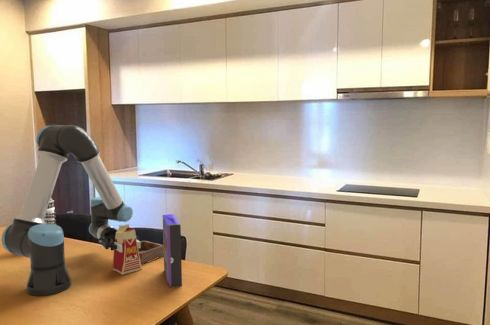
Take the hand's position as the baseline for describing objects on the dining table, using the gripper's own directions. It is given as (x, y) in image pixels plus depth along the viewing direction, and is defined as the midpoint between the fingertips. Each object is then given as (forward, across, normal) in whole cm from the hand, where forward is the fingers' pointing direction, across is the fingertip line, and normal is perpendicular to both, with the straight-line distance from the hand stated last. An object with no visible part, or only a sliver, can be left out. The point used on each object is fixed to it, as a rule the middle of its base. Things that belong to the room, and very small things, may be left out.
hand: (130, 246), depth 165 cm
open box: (-14, -12, -11) cm, 22 cm away
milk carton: (-5, 0, -11) cm, 12 cm away
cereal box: (+16, -10, -11) cm, 22 cm away
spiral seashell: (-57, +17, -11) cm, 61 cm away
